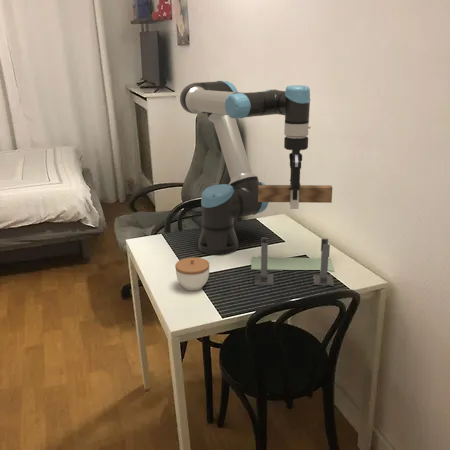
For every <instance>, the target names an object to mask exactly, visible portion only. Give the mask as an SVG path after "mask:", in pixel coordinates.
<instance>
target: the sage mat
mask: <svg viewBox="0 0 450 450" xmlns="http://www.w3.org/2000/svg"><path fill="white" fill-rule="evenodd" d="M333 264H334V263H333V261H332V258H330V257H328V271H334V272H335V268H334V265H333ZM250 265H251V266H250V270H252V271H261V256H251V264H250ZM320 268H321V257H282V256H278V257H277V256H272V257H271V256H268V260H267V271H283V270H320Z"/></svg>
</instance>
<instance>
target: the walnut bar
mask: <svg viewBox="0 0 450 450" xmlns="http://www.w3.org/2000/svg"><path fill="white" fill-rule="evenodd" d="M289 188H291V185H290V184H265V185H258V202H269V203H290V196H291V190H289ZM332 202H333V185H331V184H330V185H329V184H328V185H325V184H324V185H323V184H322V185H320V184H319V185H318V184H317V185H313V184H310V185H307V184H305V185H303V184H300V189H299V203H311V204H312V203H327V204H328V203H332Z"/></svg>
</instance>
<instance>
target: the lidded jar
mask: <svg viewBox="0 0 450 450" xmlns="http://www.w3.org/2000/svg"><path fill="white" fill-rule="evenodd" d="M174 267H175V275H176V278H177V281H178V283H179V284H180V285H181V286H182V287H183V289H185V290H187V291H192V292H193V291H199V290H201V289H203V287H204V286H205V285H206V283H207V282H208V279H209V275H210V262H209V261H208V260H207V259H205V258H203V257H202V258H201V257H193V256H192V257H186V258H182V259H179V260H178V261H177V262H175V266H174Z"/></svg>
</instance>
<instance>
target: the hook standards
mask: <svg viewBox="0 0 450 450" xmlns="http://www.w3.org/2000/svg"><path fill="white" fill-rule="evenodd" d="M320 241H321V242H320V244H321V245H320V252H321V253H320V258H321V268H320V271H319V274H313V276H312V279H314V280H313V284H315V285H330V286H334V287H335V282H334V279H333V275H330V274H329V275H328V272H327V271H328V258H330V248H331V244H330V243H329V239H328V238H321V239H320ZM260 245H261V247H260V250H261V251H260V257H261V270H260V273H255V274H254V285H255V286H274V273H268V270H267V260H268V257H269V256H268V252H269V251H268V250H269V249H268V248H269V238H268V237H261V244H260Z"/></svg>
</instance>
